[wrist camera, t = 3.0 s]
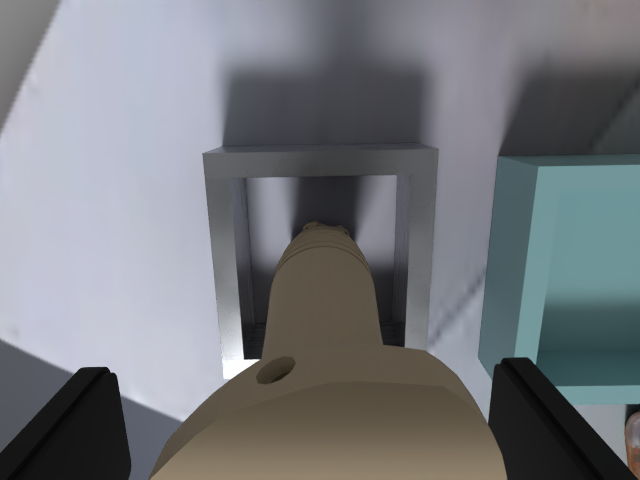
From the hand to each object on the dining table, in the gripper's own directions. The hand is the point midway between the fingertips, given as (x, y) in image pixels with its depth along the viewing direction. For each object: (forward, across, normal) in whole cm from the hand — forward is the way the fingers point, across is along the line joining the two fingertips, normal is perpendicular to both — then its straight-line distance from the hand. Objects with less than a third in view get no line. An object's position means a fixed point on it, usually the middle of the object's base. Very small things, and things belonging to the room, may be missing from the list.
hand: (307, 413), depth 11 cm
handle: (+12, -1, -1) cm, 12 cm away
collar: (+12, -1, -1) cm, 12 cm away
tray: (+12, -15, 0) cm, 19 cm away
